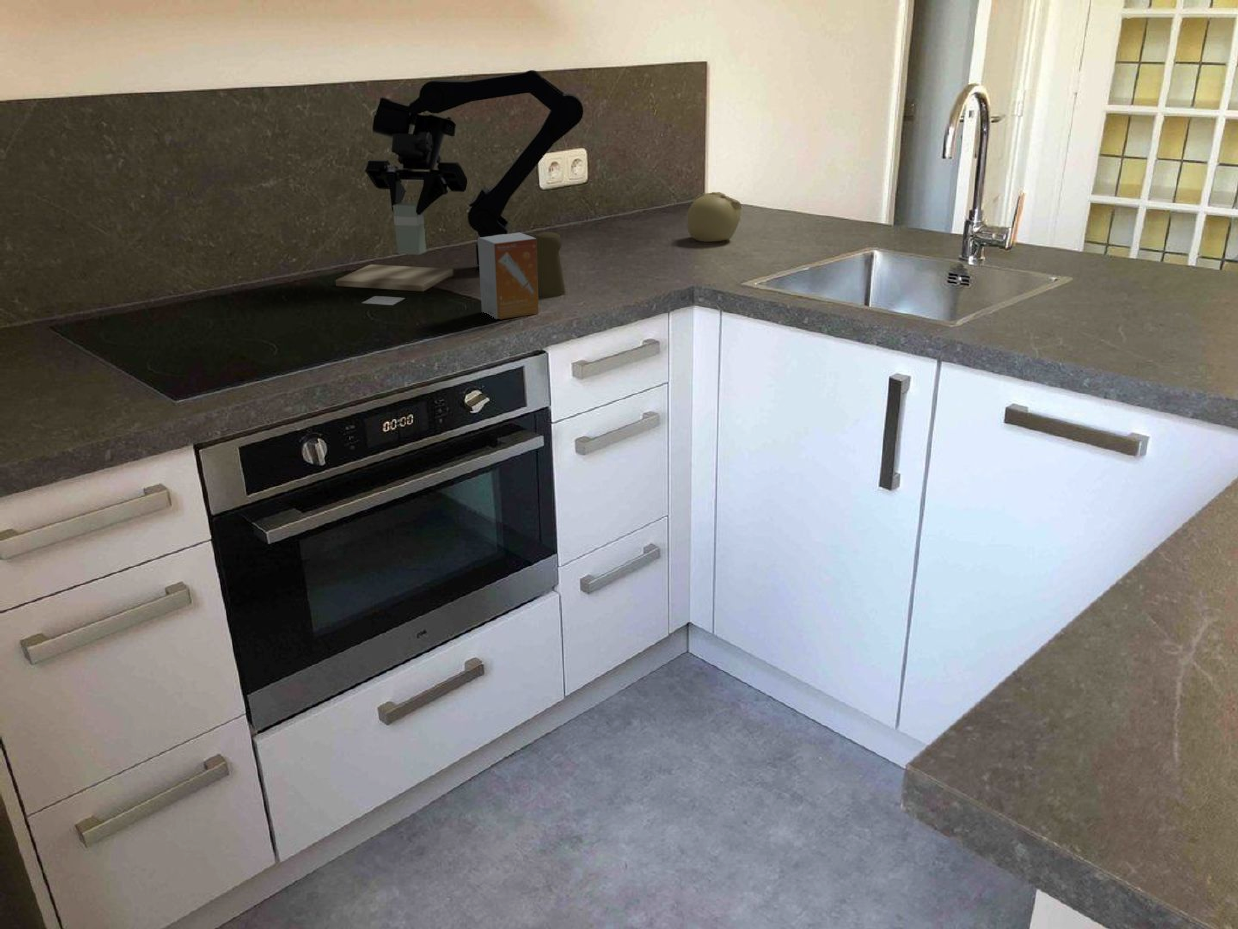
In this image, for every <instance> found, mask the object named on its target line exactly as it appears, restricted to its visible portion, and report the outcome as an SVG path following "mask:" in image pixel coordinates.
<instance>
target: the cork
mask: <svg viewBox="0 0 1238 929" xmlns="http://www.w3.org/2000/svg"><path fill="white" fill-rule="evenodd" d="M533 237H534V238H536V243H537V276H538V297H540V298H554V297H560V296H564V295H566V289H565V281H564V276H563V270H562V264H561V257H560V250H561V248H562V244H563V243H562V242H563V241H562V238H561V235H559V233H556V232H552V231H551V232H550V231H545V232H540V233H539V232H538V233H536V234H535V235H534V236H533Z"/></svg>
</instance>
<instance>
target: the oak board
mask: <svg viewBox="0 0 1238 929" xmlns="http://www.w3.org/2000/svg"><path fill="white" fill-rule="evenodd" d="M453 276H454V269H453V268H441V267H440V268H439V267H424V266H423V267H421V266H403V265H387V264H386V265H384V264H369V265H366V266H364V267H362V268H359V269H357V270H355V271H353V272H351V273H348V274H347V275H344V276H342V277H339V278H337V279H335V280H334V281H335V287H346V288H347V287H349V288H365V289H367V288H369V289H379V290H380V289H381V290H395V291H396V290H397V291H412V292H424V291H426V290H429V289H430V288H432V287H433V286H435V285H437V284H439V283H441V282H442V281H444V280H446V279H447V278H450V277H453Z"/></svg>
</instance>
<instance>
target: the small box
mask: <svg viewBox="0 0 1238 929" xmlns="http://www.w3.org/2000/svg"><path fill="white" fill-rule="evenodd" d="M479 237H480V236H479ZM534 237H535V236H530V235H528V234H525V233H522V232H514V233H507V234H502V235H494V236H489V237H480V238H478V237H477V244H478V253H479V265H478V266H479V270H478V271H479V284H480V285H479V287H480V300H481V301H480V304H481V313H483V312H484V313H487V314H489V315H490V316H492V317H491V318H493V317H494V318H493V319H495V320H497V319H500V320H504V319H511V318H517V317H524V316H530V315H537V314H539V312H540V311H539V296H538V276H537V243H536V238H534ZM484 313H483V314H484ZM490 316H489V317H490Z"/></svg>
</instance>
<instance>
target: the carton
mask: <svg viewBox="0 0 1238 929" xmlns="http://www.w3.org/2000/svg"><path fill="white" fill-rule="evenodd" d="M417 204H418V202H415V203H414V202H402V203H398V204H395V205H393V212H394V213H393V212H392V213H393V223H394V230H395V240H396V249H397V250H396V251H397V254H399V255H415V256H416V255H418V256H419V255H423V254H424V253H426V252H427V246H426V236H425V235H426V234H425V224H424V223H425V219H424V211H423V212H422V213H421V214H420V215H418V214H417V213H416V209H417Z"/></svg>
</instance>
